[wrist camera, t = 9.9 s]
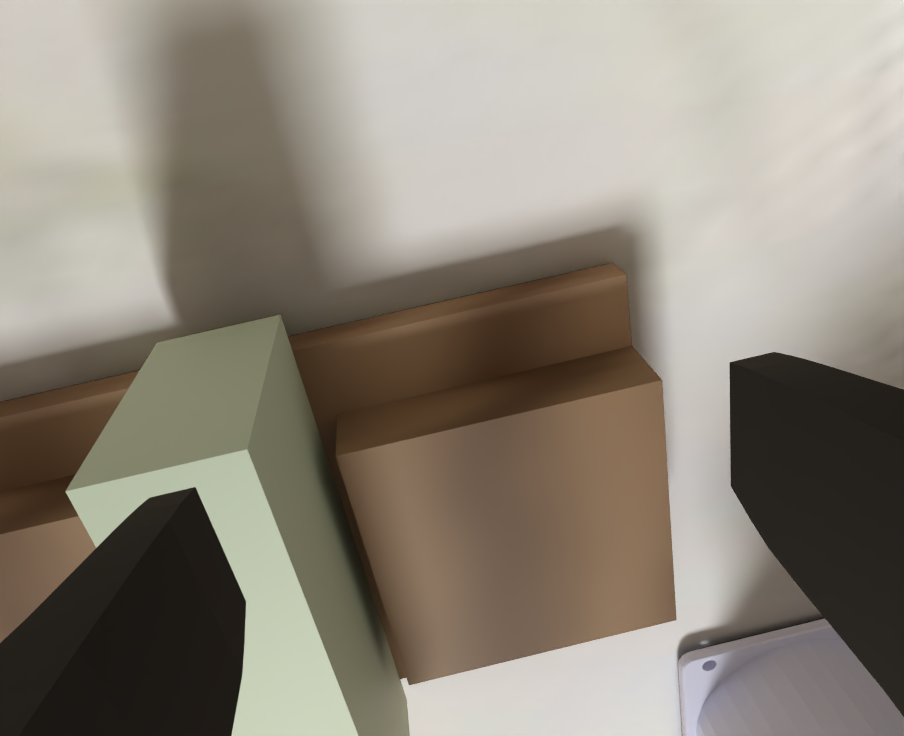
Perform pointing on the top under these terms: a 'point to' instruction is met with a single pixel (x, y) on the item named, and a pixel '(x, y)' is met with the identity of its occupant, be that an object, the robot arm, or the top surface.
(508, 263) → the top surface
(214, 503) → the sage block
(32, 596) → the slotted plank
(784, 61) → the top surface
